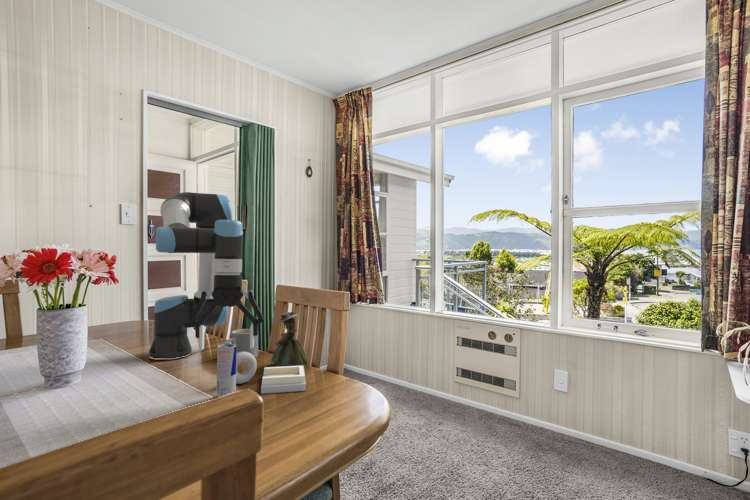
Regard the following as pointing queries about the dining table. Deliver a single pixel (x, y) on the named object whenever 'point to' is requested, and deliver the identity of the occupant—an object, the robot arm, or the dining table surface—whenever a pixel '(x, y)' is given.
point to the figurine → (289, 345)
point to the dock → (283, 379)
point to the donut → (250, 367)
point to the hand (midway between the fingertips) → (227, 348)
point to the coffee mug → (243, 341)
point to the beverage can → (226, 369)
